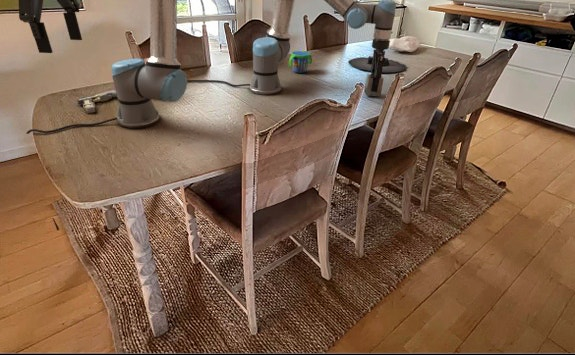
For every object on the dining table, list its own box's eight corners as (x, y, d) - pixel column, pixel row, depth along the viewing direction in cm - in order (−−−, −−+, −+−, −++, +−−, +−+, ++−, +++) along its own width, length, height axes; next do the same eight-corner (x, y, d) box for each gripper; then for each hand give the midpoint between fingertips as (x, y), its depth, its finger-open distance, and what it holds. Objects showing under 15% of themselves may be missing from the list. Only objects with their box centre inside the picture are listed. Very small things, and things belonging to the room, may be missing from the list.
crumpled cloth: (372, 47, 255) (376, 34, 249) (400, 41, 275) (404, 29, 269) (399, 60, 243) (404, 46, 237) (427, 52, 263) (432, 40, 257)
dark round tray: (418, 67, 219) (420, 52, 215) (377, 75, 202) (379, 59, 197) (375, 58, 244) (377, 43, 239) (336, 64, 226) (337, 49, 222)
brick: (380, 95, 173) (383, 78, 169) (366, 95, 173) (368, 77, 169) (378, 91, 178) (381, 74, 174) (364, 91, 178) (366, 74, 174)
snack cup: (305, 67, 213) (306, 49, 208) (316, 72, 206) (318, 53, 200) (283, 70, 206) (283, 52, 200) (293, 75, 198) (294, 56, 193)
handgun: (128, 97, 156) (111, 87, 164) (86, 107, 144) (70, 97, 152) (129, 103, 157) (113, 94, 165) (88, 114, 146) (72, 103, 154)
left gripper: (11, -57, 68) (48, 59, 79) (79, -56, 89) (100, 35, 100) (-29, -58, 68) (13, 58, 79) (48, -57, 89) (73, 34, 100)
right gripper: (394, 44, 154) (384, 96, 167) (385, 34, 170) (377, 83, 183) (377, 43, 154) (368, 95, 167) (369, 34, 170) (362, 82, 183)
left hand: (62, 45), depth 90 cm, fingers open, 13 cm apart
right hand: (372, 89), depth 175 cm, fingers closed on brick, 6 cm apart
